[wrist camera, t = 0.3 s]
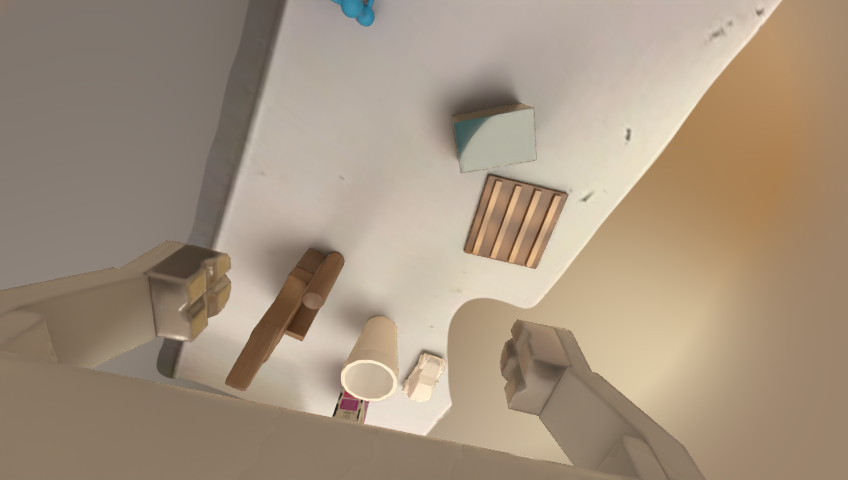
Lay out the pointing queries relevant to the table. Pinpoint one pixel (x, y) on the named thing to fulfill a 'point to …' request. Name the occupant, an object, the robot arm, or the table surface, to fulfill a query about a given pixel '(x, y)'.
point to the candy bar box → (350, 408)
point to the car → (424, 377)
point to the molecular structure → (358, 10)
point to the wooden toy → (288, 313)
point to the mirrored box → (495, 137)
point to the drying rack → (514, 221)
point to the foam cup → (373, 362)
